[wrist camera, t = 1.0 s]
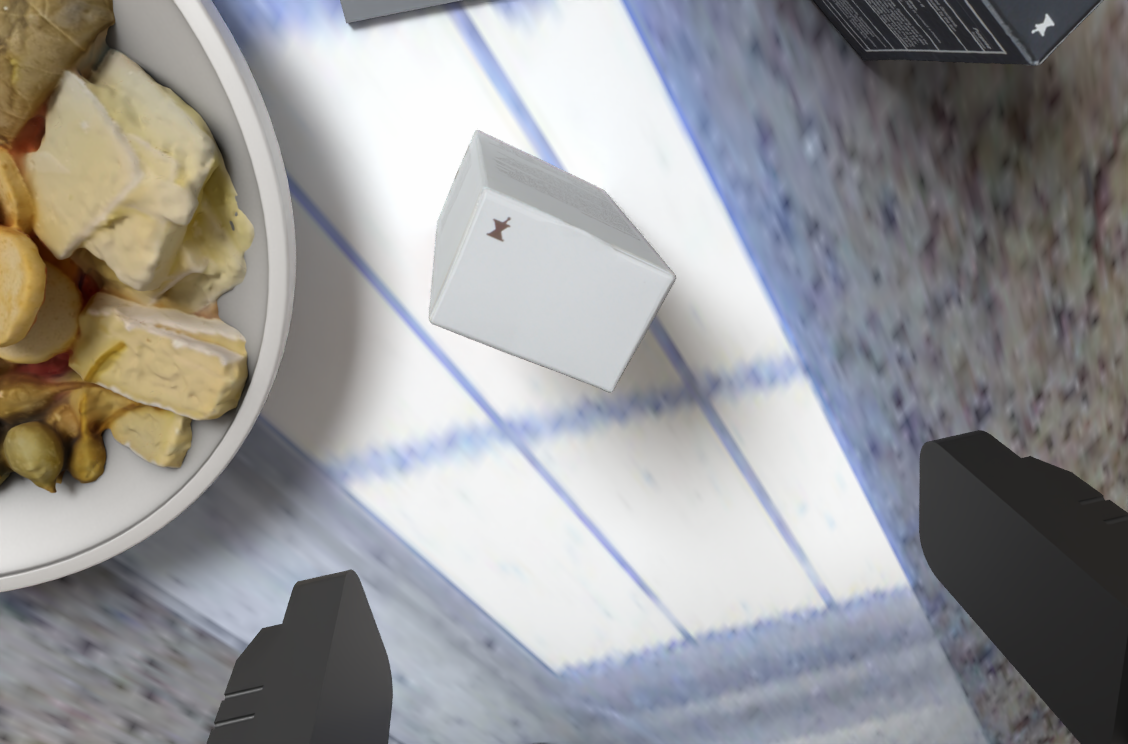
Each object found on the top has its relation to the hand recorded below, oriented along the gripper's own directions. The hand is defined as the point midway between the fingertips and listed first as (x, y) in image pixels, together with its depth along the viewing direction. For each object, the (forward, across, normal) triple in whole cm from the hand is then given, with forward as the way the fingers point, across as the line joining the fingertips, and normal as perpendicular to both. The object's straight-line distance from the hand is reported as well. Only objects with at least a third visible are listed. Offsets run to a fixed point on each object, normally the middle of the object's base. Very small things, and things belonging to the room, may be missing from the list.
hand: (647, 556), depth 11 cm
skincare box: (+24, 0, 0) cm, 24 cm away
